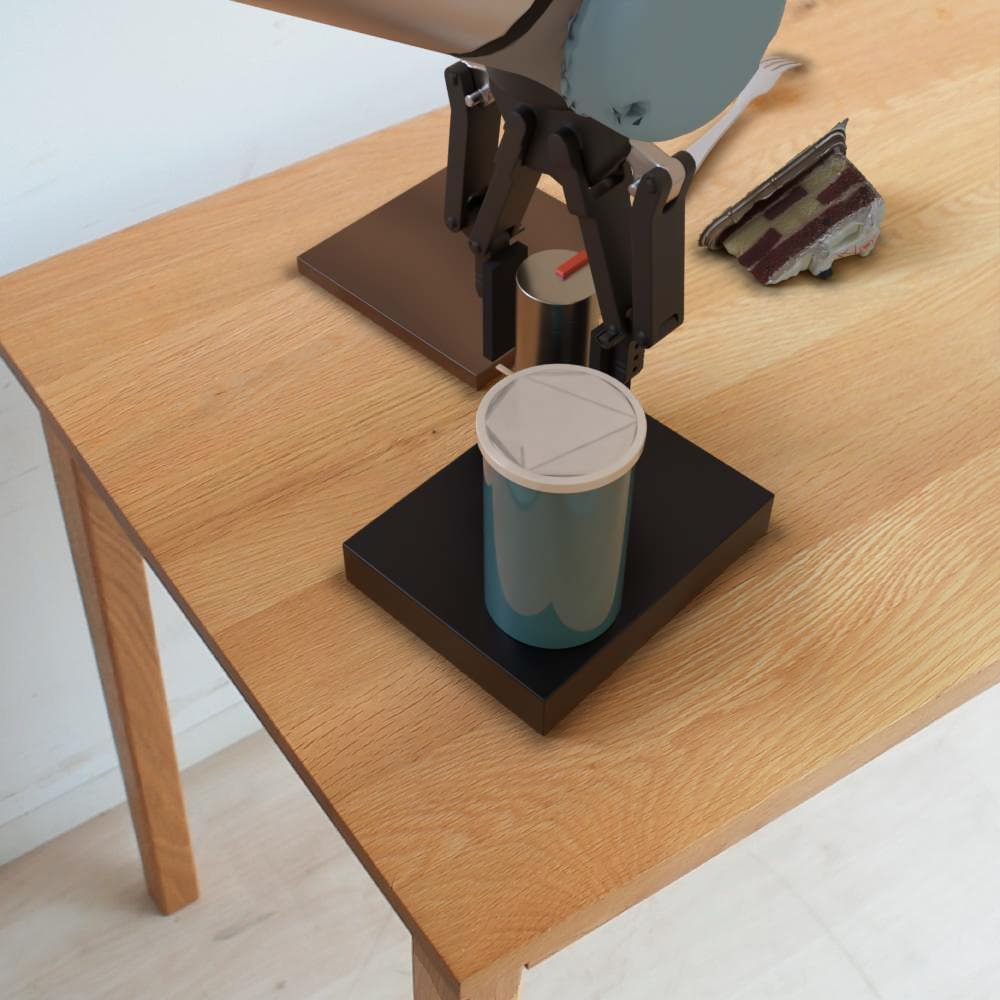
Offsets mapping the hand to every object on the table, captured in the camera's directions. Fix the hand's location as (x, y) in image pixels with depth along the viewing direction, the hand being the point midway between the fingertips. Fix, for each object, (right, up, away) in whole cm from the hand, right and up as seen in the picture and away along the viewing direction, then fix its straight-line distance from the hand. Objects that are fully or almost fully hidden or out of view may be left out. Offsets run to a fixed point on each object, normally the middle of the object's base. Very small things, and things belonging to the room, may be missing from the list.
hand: (554, 379), depth 79 cm
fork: (+13, +20, +25) cm, 35 cm away
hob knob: (0, -1, +1) cm, 2 cm away
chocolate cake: (+17, +10, +15) cm, 25 cm away
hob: (-1, -8, -1) cm, 8 cm away
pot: (0, -11, -8) cm, 14 cm away
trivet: (-5, +8, +14) cm, 17 cm away
